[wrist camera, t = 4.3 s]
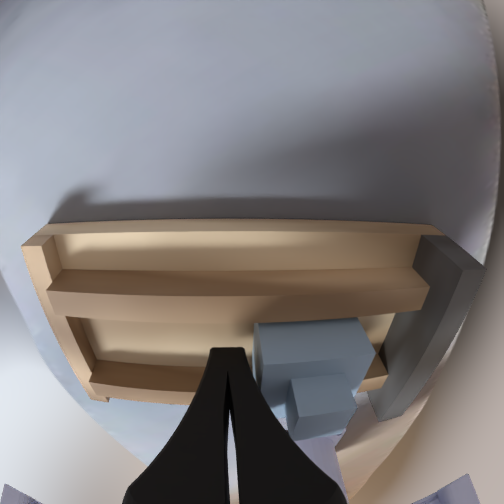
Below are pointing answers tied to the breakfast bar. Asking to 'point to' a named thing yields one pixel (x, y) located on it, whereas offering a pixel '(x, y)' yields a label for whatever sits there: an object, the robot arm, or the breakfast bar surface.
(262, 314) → the track
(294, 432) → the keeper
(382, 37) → the breakfast bar surface
